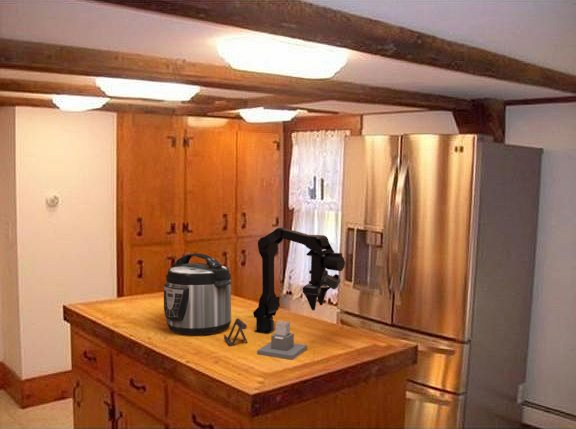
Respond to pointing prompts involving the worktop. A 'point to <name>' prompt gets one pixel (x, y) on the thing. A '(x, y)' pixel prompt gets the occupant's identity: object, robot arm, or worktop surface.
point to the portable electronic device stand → (241, 326)
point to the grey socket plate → (282, 347)
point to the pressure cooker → (197, 296)
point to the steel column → (283, 328)
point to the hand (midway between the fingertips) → (317, 307)
